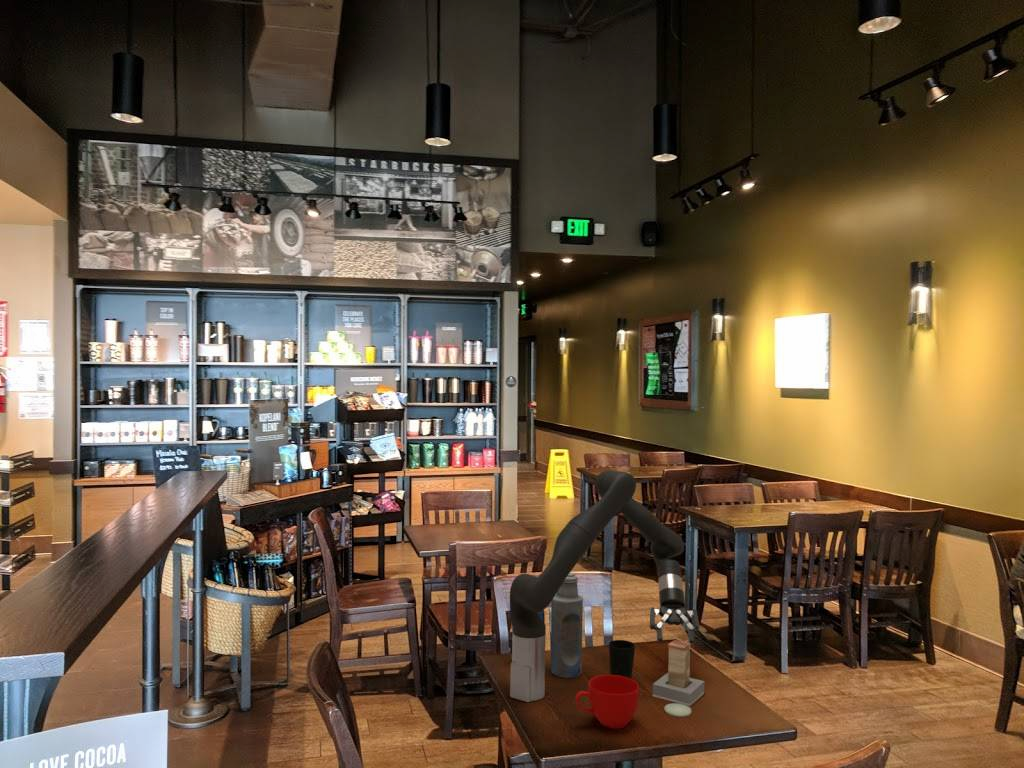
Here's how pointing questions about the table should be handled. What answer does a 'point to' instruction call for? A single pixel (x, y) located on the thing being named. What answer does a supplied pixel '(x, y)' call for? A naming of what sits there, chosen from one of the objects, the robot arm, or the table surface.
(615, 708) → the ceramic cup
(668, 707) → the pad
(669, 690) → the socket block
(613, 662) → the cup
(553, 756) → the table surface
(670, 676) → the plug
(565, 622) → the bottle
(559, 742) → the table surface
